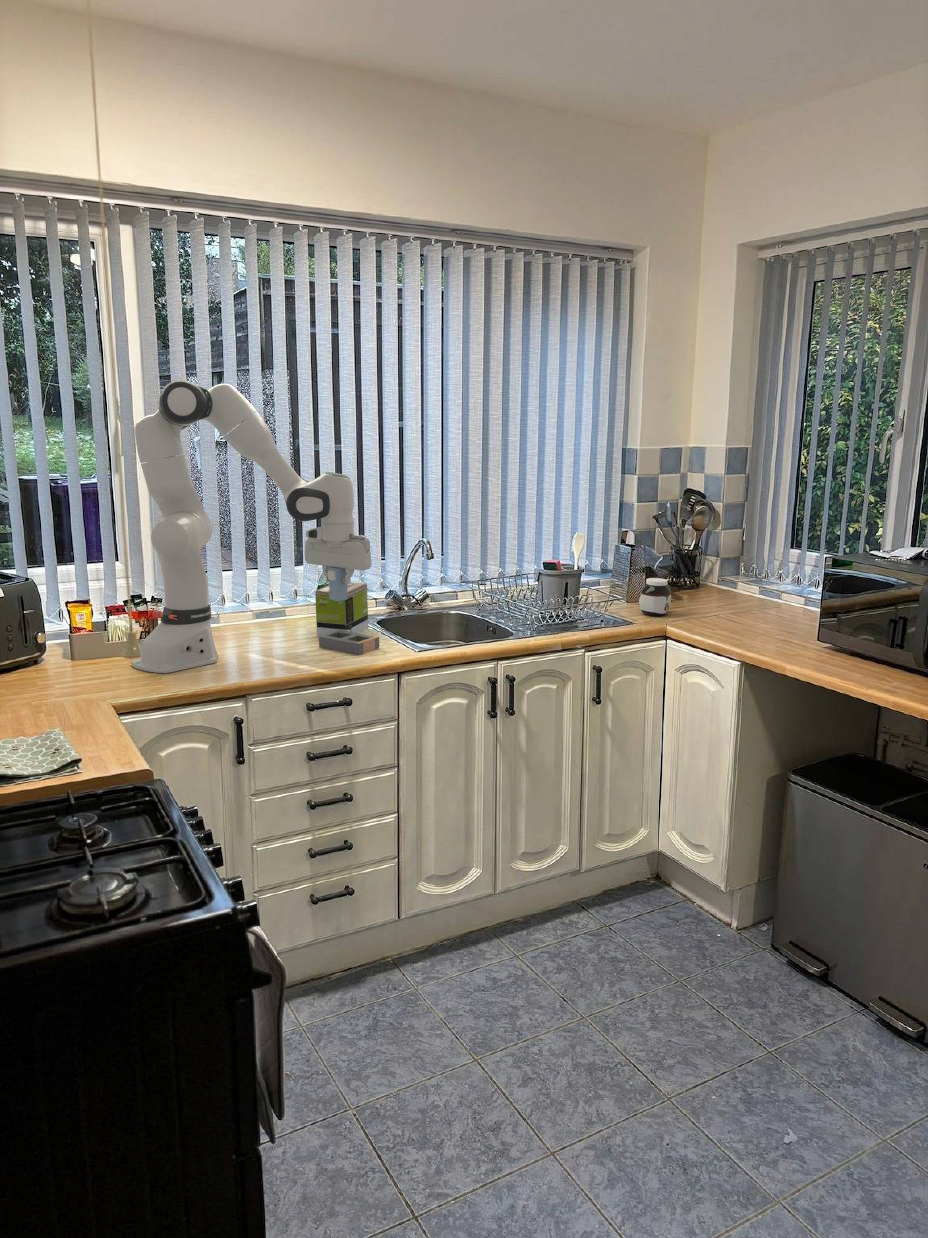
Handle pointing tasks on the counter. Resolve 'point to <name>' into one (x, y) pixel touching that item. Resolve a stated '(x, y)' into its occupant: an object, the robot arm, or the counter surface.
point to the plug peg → (337, 584)
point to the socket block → (349, 642)
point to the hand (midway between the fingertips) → (338, 583)
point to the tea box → (342, 610)
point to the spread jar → (655, 597)
